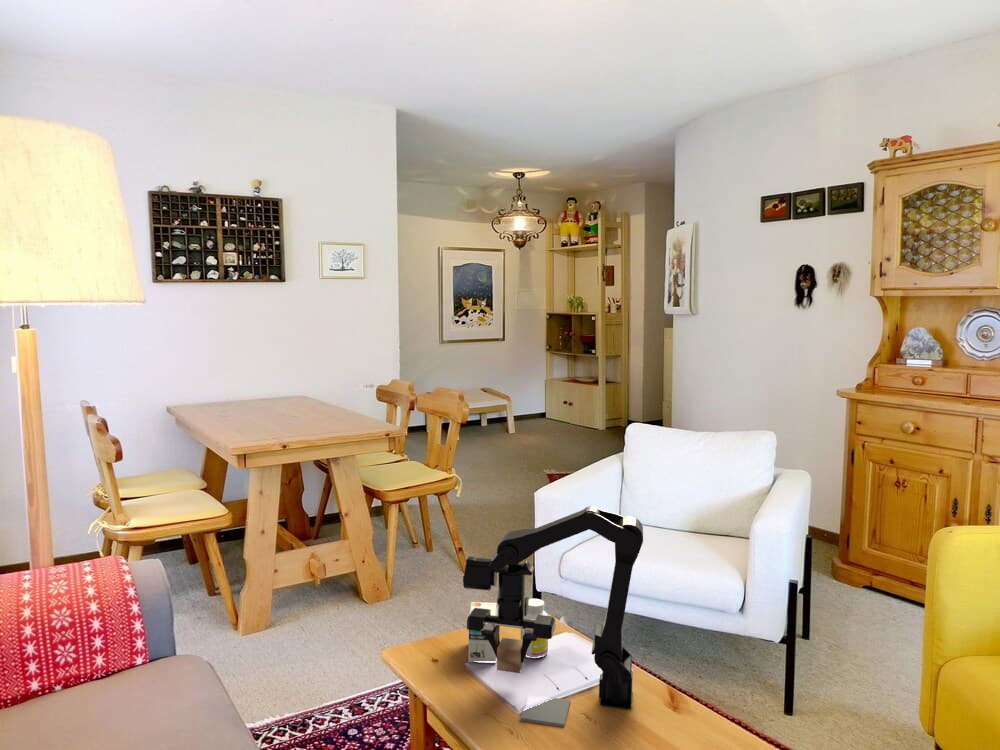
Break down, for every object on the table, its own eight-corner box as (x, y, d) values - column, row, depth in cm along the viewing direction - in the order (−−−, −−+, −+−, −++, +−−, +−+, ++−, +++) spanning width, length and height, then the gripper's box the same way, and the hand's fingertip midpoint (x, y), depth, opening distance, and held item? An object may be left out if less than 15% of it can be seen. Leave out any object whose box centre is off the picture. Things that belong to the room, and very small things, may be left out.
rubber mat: (570, 702, 152) (570, 700, 152) (564, 726, 143) (564, 724, 143) (528, 697, 154) (528, 694, 154) (520, 720, 145) (520, 717, 145)
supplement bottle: (552, 651, 174) (553, 600, 173) (539, 662, 169) (540, 610, 167) (528, 644, 178) (529, 594, 177) (515, 655, 172) (515, 603, 171)
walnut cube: (524, 662, 159) (524, 640, 158) (519, 673, 154) (519, 650, 153) (502, 659, 160) (502, 637, 159) (496, 670, 155) (497, 648, 154)
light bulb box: (496, 664, 168) (496, 620, 167) (467, 664, 168) (467, 619, 167) (497, 643, 178) (497, 601, 177) (470, 642, 179) (470, 601, 177)
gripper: (559, 582, 161) (558, 648, 162) (479, 574, 165) (479, 639, 167) (551, 601, 150) (550, 672, 152) (466, 592, 154) (465, 661, 156)
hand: (510, 660), depth 157 cm, fingers closed on walnut cube, 5 cm apart
